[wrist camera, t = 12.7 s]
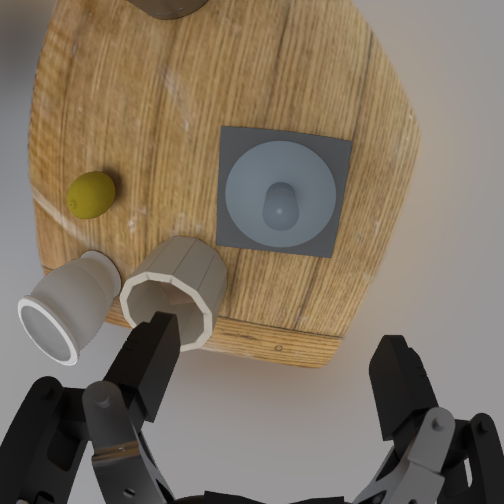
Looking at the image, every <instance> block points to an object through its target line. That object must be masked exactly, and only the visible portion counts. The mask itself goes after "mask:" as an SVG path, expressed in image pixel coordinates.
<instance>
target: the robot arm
mask: <svg viewBox="0 0 504 504" xmlns="http://www.w3.org/2000/svg"><path fill="white" fill-rule="evenodd" d="M127 1H128V2H130V3H132V4H133V5H135V6H136V7H138V8H139V9H141V10H143V11H144V12H146V13H147V14H149V15H150V16H152V17H154V18H157V19H163V20H167V19H175V18H180V17H183V16H185V15H188V14H190V13H192V12H194V11H196V10H197V9H198V8H200V7H201V6H202V5H203V4H204V3H205V2H206V1H208V0H127ZM180 347H181V342H180V334H179V327H178V319H177V315H176V314H172V313H167V312H161V311H156V312H155V314H154V316H153V317H152V319H151V321H150V322H149V323H148V322H144V321H143V322H141V323H140V324H139V325H137V326H136V327H135V328H134V329H133V330H132V331H131V333H130V335H129V336H128V338H127V341H125V343H124V345H123V346H122V349H121V350H120V351H119V353H118V355H117V357H116V358H115V360H114V362H113V363H112V365H111V367H110V369H109V370H108V372H107V374H106V376H105V377H104V379H103V380H102V381H97V382H95V383H92V384H91V385H89V386H88V387H87V388H86V389H78V388H67V387H63V386H62V385H61V383H60V382H59V381H58V380H57V379H56V378H54V377H51V376H45V377H42V378H40V379H38V380H37V381H35V382H34V384H33V385H32V387H31V388H30V390H29V392H28V394H27V395H26V397H25V399H24V401H23V402H22V404H21V406H20V408H19V410H18V412H17V414H16V415H15V417H14V419H13V421H12V423H11V425H10V427H9V429H8V432H7V433H6V435H5V438H4V440H3V442H2V444H1V446H0V504H67V501H68V498H69V495H70V492H71V488H72V485H73V482H74V479H75V476H76V473H77V470H78V467H79V465H80V462H81V459H82V456H83V453H84V451H85V448H86V445H87V442H88V441H92V445H93V449H94V455H93V456H92V458H91V460H92V466H93V469H94V472H95V475H96V478H97V481H98V484H99V487H100V489H101V492H102V495H103V497H104V500H105V502H106V504H265V503H261V502H258V501H254V500H251V499H248V498H245V497H242V496H237V495H229V494H222V493H216V492H210V491H205V493H204V495H197V496H189V497H184V498H180V499H177V500H176V499H175V497H174V495H173V493H172V492H171V490H170V488H169V486H168V485H167V483H166V481H165V479H164V477H163V476H162V474H161V473H160V471H159V469H158V467H157V465H156V463H155V460H154V458H153V456H152V454H151V452H150V449H149V447H148V445H147V442H146V440H145V438H144V435H143V433H142V430H141V428H142V425H143V423H144V420H145V421H149V422H152V423H153V422H154V420H155V417H156V415H157V412H158V409H159V406H160V404H161V401H162V399H163V396H164V393H165V391H166V388H167V385H168V383H169V380H170V377H171V375H172V372H173V369H174V367H175V364H176V362H177V359H178V357H179V353H180ZM423 367H424V366H423V364H422V361H421V359H420V357H419V355H418V354H417V353H416V352H415V351H414V350H413V349H412V348H408V346H407V343H406V341H405V339H404V337H403V336H402V335H384V336H383V337H382V339H381V341H380V343H379V345H378V348H377V349H376V351H375V353H374V355H373V357H372V359H371V361H370V364H369V376H370V380H371V385H372V389H373V393H374V398H375V402H376V407H377V412H378V417H379V421H380V427H381V431H382V437H383V441H388V440H393V441H394V445H393V446H392V448H391V449H390V451H389V453H388V455H387V456H386V458H385V460H384V461H383V463H382V465H381V466H380V468H379V470H378V471H377V473H376V475H375V476H374V478H373V479H372V481H371V482H370V484H369V485H368V486H367V487H366V488H365V489H364V490H363V491H362V492H361V493H360V494H359V495H358V496H357V497H356V499H355V500H354V501H353V502H352V503H349V502H344V496H341V497H330V498H314V499H313V498H312V499H308V500H304V501H300V502H295V503H291V504H435V501H436V500H437V504H504V455H503V451H502V447H501V444H500V440H499V437H498V433H497V430H496V427H495V424H494V421H493V420H492V418H491V417H490V416H489V415H487V414H485V413H478V414H476V415H475V416H474V417H473V418H472V419H471V420H470V421H467V420H458V419H454V417H453V416H452V414H451V413H450V412H449V411H448V410H446V409H444V408H441V407H439V405H438V403H437V400H436V397H435V394H434V392H433V389H432V386H431V384H430V381H429V379H428V377H427V374H426V371H425V369H424V368H423ZM467 458H469V463H470V468H471V473H472V484H471V486H470V487H468V482H467V475H466V470H465V464H464V460H466V459H467Z"/></svg>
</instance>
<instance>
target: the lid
mask: <svg viewBox="0 0 504 504" xmlns="http://www.w3.org/2000/svg"><path fill="white" fill-rule="evenodd" d="M225 197H226V204H227V208H228V211H229V214H230V216H231V218H232V220H233V221H234V223H235V224H236V226H237V227H238V228H239V229H240V230H241V231H242V232H243V233H244V234H245V235H246V236H248V237H249V238H251V239H252V240H254V241H256V242H258V243H260V244H263V245H267V246H271V247H291V246H296V245H299V244H302V243H304V242H307V241H309V240H310V239H312V238H314V237H315V236H316V235H317V234H319V233H320V232H321V231H322V230H323V229H324V227H325V226H326V225H327V223H328V222H329V220H330V218H331V216H332V213H333V211H334V207H335V202H336V187H335V182H334V179H333V176H332V174H331V172H330V170H329V168H328V166H327V165H326V163H325V162H324V161H323V160H322V159H321V158H320V157H319V156H318V155H317V154H316V153H315V152H313V151H312V150H310V149H309V148H307V147H305V146H303V145H301V144H298V143H295V142H290V141H270V142H266V143H263V144H260V145H257V146H255V147H253V148H252V149H250V150H249V151H247V152H246V153H245V154H243V155H242V156H241V157H240V158H239V159H238V161H237V162H236V163H235V164H234V166H233V168H232V169H231V171H230V174H229V176H228V179H227V183H226V190H225Z"/></svg>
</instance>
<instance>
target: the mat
mask: <svg viewBox="0 0 504 504" xmlns="http://www.w3.org/2000/svg"><path fill="white" fill-rule="evenodd" d="M270 141H290V142H295V143H298V144H301V145H303V146H305V147H307V148H309V149H310V150H312V151H313V152H315V153H316V154H317V155H318V156H319V157H320V158H321V159H322V160H323V161H324V162H325V163H326V165H327V166H328V168H329V170H330V172H331V174H332V176H333V179H334V182H335V187H336V202H335V207H334V211H333V213H332V216H331V218H330V220H329V222H328V223H327V225H326V226H325V227H324V229H323V230H322V231H321V232H320V233H319V234H317V235H316V236H315V237H314V238H312V239H310V240H309V241H307V242H304V243H302V244H299V245H296V246H291V247H271V246H267V245H263V244H260V243H258V242H256V241H254V240H252V239H251V238H249V237H248V236H246V235H245V234H244V233H243V232H242V231H241V230H240V229H239V228H238V227H237V226H236V224H235V223H234V221H233V220H232V218H231V216H230V214H229V211H228V208H227V204H226V197H225V190H226V183H227V179H228V176H229V174H230V171H231V169H232V168H233V166H234V164H235V163H236V162H237V161H238V159H239V158H240V157H241V156H242V155H243V154H245V153H246V152H247V151H249V150H250V149H252V148H253V147H255V146H257V145H260V144H263V143H266V142H270ZM351 146H352V141H347V140H342V139H336V138H330V137H324V136H318V135H311V134H304V133H296V132H288V131H279V130H269V129H257V128H243V127H223V126H222V127H221V137H220V155H219V175H218V199H217V231H216V245H218V246H227V247H236V248H245V249H254V250H263V251H272V252H281V253H290V254H299V255H308V256H317V257H325V258H332V253H333V249H334V244H335V239H336V234H337V230H338V225H339V219H340V214H341V209H342V203H343V198H344V192H345V186H346V180H347V174H348V167H349V161H350V153H351Z"/></svg>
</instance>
